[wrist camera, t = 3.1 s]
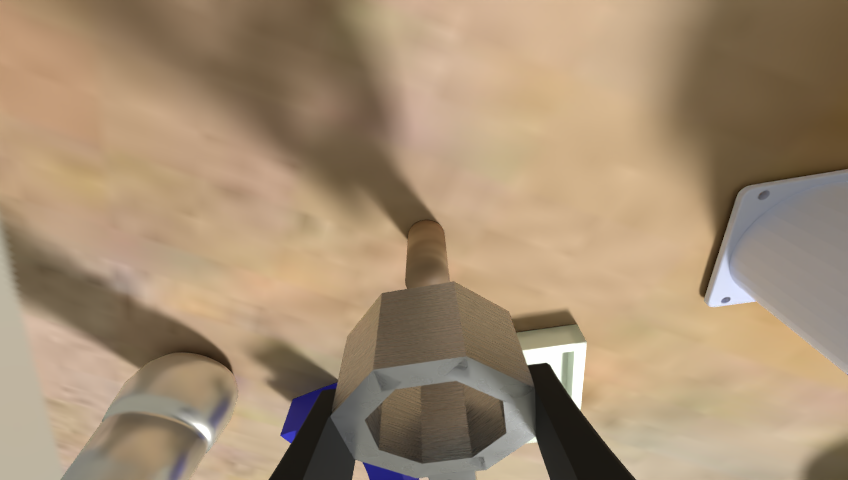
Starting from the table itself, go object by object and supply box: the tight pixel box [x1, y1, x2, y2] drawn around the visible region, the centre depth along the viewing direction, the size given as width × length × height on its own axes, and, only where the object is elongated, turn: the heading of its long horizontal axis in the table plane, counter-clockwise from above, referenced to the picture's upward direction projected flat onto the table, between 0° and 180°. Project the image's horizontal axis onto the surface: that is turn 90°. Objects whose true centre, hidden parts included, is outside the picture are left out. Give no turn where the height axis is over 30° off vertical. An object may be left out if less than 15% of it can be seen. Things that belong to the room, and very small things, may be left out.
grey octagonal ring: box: [330, 282, 536, 480], centre depth 12 cm, size 6×7×3 cm
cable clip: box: [280, 382, 419, 480], centre depth 26 cm, size 12×4×6 cm, turn 29°
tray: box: [516, 324, 587, 443], centre depth 25 cm, size 11×11×2 cm
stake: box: [405, 220, 450, 289], centre depth 17 cm, size 2×2×4 cm
